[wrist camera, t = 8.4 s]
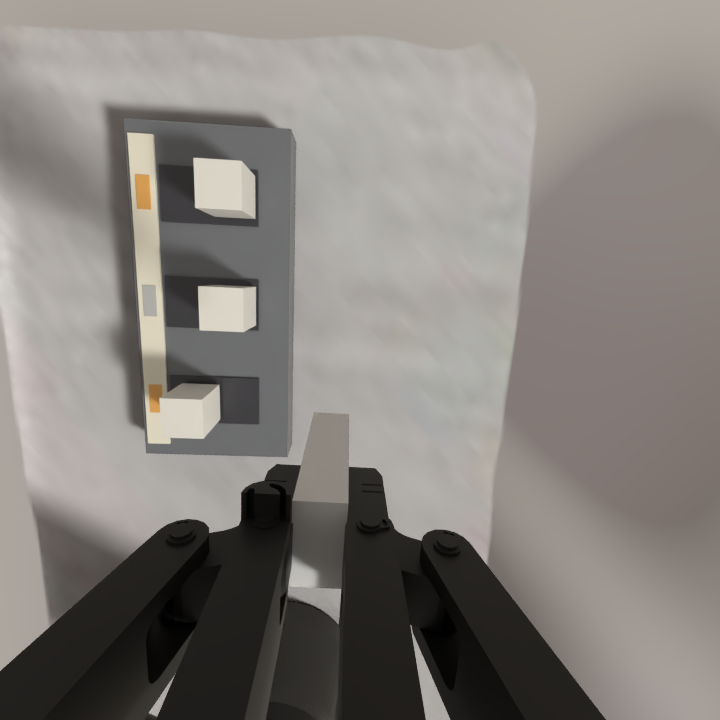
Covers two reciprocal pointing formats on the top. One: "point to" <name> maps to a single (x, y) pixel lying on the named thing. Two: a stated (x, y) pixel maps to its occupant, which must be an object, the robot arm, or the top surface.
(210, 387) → the tab
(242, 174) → the tab
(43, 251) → the top surface
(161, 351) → the switch bank
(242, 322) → the tab
